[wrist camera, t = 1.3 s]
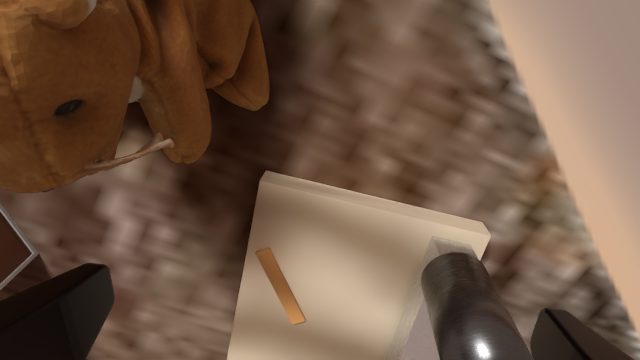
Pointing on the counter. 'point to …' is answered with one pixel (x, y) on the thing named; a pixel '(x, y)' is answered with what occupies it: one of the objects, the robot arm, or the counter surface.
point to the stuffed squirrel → (117, 80)
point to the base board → (332, 270)
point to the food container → (13, 248)
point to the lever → (455, 311)
